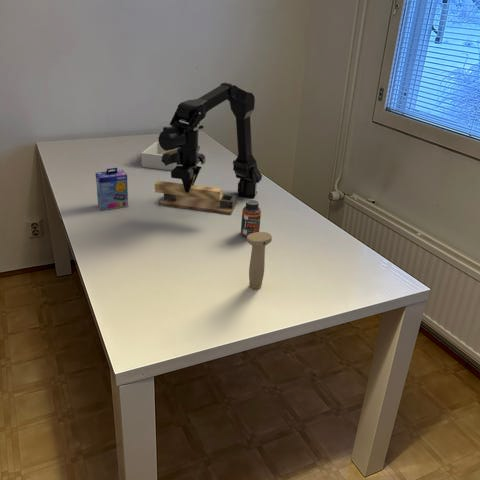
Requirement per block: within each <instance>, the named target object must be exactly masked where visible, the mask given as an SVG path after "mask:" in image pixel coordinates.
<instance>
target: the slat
mask: <svg viewBox="0 0 480 480" xmlns="http://www.w3.org/2000/svg"><path fill="white" fill-rule="evenodd" d="M154 193H160V194H164V193H165V194H173V195H180V196H188V197H195V198H203V199H211V200H218V201H220V200H221V198H222V197H223V188H220V187H219V188H218V187H212V186H210V187H209V186H204V185H203V186H202V185H196V184H194V185H192V186H191V189H190V191H189V193H186V192H185V189H184V186H183V183H181V182H180V183H179V182H172V181H165V180H164V181H163V180H157V181H156V182H155V183H154Z"/></svg>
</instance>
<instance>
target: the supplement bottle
mask: <svg viewBox="0 0 480 480" xmlns="http://www.w3.org/2000/svg"><path fill="white" fill-rule="evenodd" d="M259 206H260V202H259V201H258V200H255V199H249V200H246V202H245V206H243V208H242V211H241V223H240V225H241V226H240V235H242V236H243V237H245V238H247V236H248V235H249V234H251V233H255V232H260V225H261V217H262V216H261V215H262V210H261V208H260V207H259Z"/></svg>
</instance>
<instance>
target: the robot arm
mask: <svg viewBox="0 0 480 480" xmlns="http://www.w3.org/2000/svg"><path fill="white" fill-rule="evenodd" d="M255 100H256V99H255V95H254V94H253V93H252V92H249V91H246V90H244V89H242V88H239V86H237V85H235V84H234V83H228V82H221V84H220V85H219V86H217V87H215V88H214V89H212V90H210V91H208V92H207V93H205V94H203V95H202V96H200V97H198V98H196V99H195V98H194V99H187V100H185V101H182V102H180V103H179V104H178V105H177V108H176V110H175V113H174V114H173V115H172V118H171V120H170V122H169V126H163V127H162V131H161V132H160V133H159V134H158V142H159V144H160V146H161V148H162V149H163V150H165V151H168V150H171V149H175V148H178V149H177V150H174V151H170V152H167V153H164V154H163V156H162V157H161V158H162V160H161V161H162V162H163V163H164V164H165V166H167V165H169V164H172V163H176V162H177V165H182V166H176V167H175V168H174V169H173V170H170V177H171V179H178V180H181V182H182V184H183V186H184V189H185V192H186V193H189V191H190V189H191V186H192V185H195V183H196V181H197V178H198V176H199V174H200V173H201V170H202V166H199V165H198V164H201V165H204V164H205V163H206V156H205V155H204V153H199V151H200V149H201V147H200V145H199V130H203V129H204V126H203V124H202V123H201V121H203V119H205V118H206V116H207V113H208V112H209V111H211V110H213V109H214V108H216V107H217V106H219V105H220V104H222V103H223V102H225V101H228V102H229V106H230V110H231V112H232V113H233V116H234V117H235V124H236V137H237V139H236V141H237V142H236V143H237V157H236V158H235V159H234V160H233V161H232V165H233V169H232V170H233V171H234V175H235V178H236V179H239V181H238V182H237V197H241V198H249V199H255V198H256V195H257V194H258V191H257V187H258V184H259V183H260V181H262V178H263V174H262V173H261V172H260V171H259V170H260V169H258V165H257V160H256V159H255V157H254V155H253V154H252V153H253V149H252V127H251V116H252V114H253V112H254V111H255V102H256V101H255Z"/></svg>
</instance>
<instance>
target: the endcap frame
mask: <svg viewBox="0 0 480 480" xmlns="http://www.w3.org/2000/svg"><path fill="white" fill-rule="evenodd" d="M238 203H239V199H238V198H237V195H234V194H227V193H226V194H222V198H221V200H220V201H218V200H211V199H203V198H195V197H188V196H180V195H173V194H165V193H163V199H161V201H160V202H159V205H160V206H164V207H170V208H171V207H172V208H178V209H180V208H181V209H186V210H187V209H188V210H194V211H201V212H202V211H203V212H209V213H215V214H222V215H223V214H225V215H232V214H233V213H234V210H235V208H236V206H237V205H238Z"/></svg>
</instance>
